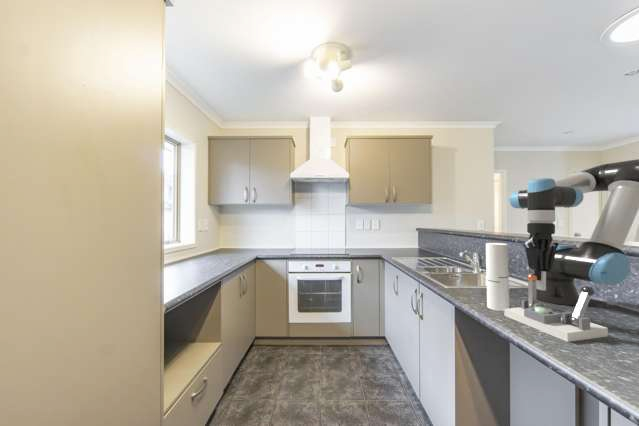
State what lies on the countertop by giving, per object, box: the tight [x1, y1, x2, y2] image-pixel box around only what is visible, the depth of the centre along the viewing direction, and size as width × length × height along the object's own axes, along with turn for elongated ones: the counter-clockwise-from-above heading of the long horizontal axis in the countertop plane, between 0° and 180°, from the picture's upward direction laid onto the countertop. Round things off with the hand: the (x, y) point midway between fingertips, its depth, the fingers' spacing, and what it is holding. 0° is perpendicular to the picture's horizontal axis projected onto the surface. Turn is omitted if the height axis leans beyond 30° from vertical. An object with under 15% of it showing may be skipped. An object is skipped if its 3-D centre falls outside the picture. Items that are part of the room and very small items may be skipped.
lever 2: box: [567, 286, 595, 326], centre depth 78 cm, size 3×3×13 cm
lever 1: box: [525, 273, 538, 308], centre depth 91 cm, size 3×3×13 cm
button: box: [535, 307, 550, 314], centre depth 83 cm, size 4×4×3 cm
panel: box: [503, 298, 609, 343], centre depth 85 cm, size 15×20×6 cm
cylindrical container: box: [485, 242, 510, 312], centre depth 101 cm, size 7×7×25 cm
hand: (540, 289), depth 91 cm, fingers closed
